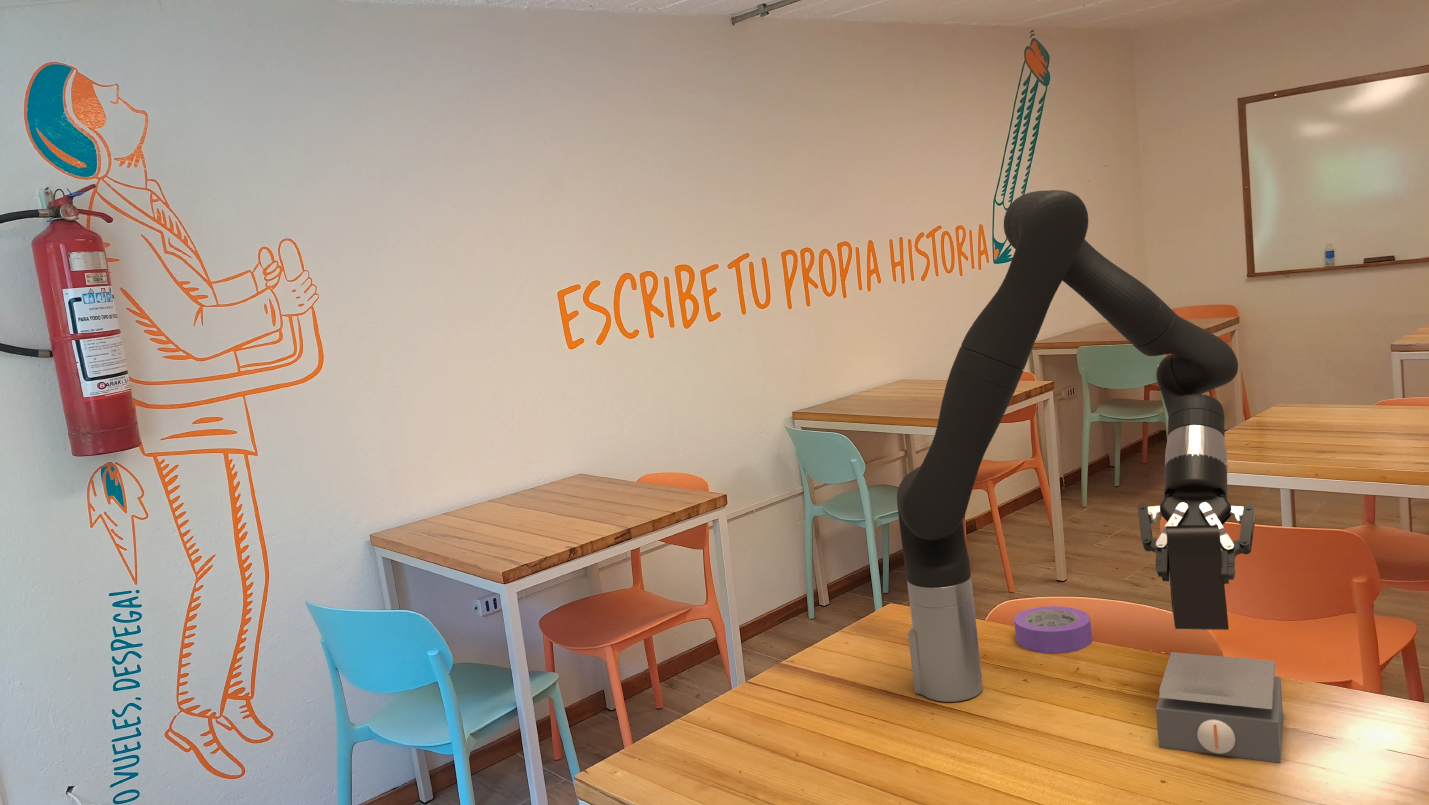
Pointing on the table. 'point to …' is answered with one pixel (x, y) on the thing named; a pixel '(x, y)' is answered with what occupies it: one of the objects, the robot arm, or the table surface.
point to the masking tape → (1053, 629)
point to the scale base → (1222, 727)
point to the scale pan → (1219, 680)
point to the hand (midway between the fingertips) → (1194, 579)
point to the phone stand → (1196, 577)
